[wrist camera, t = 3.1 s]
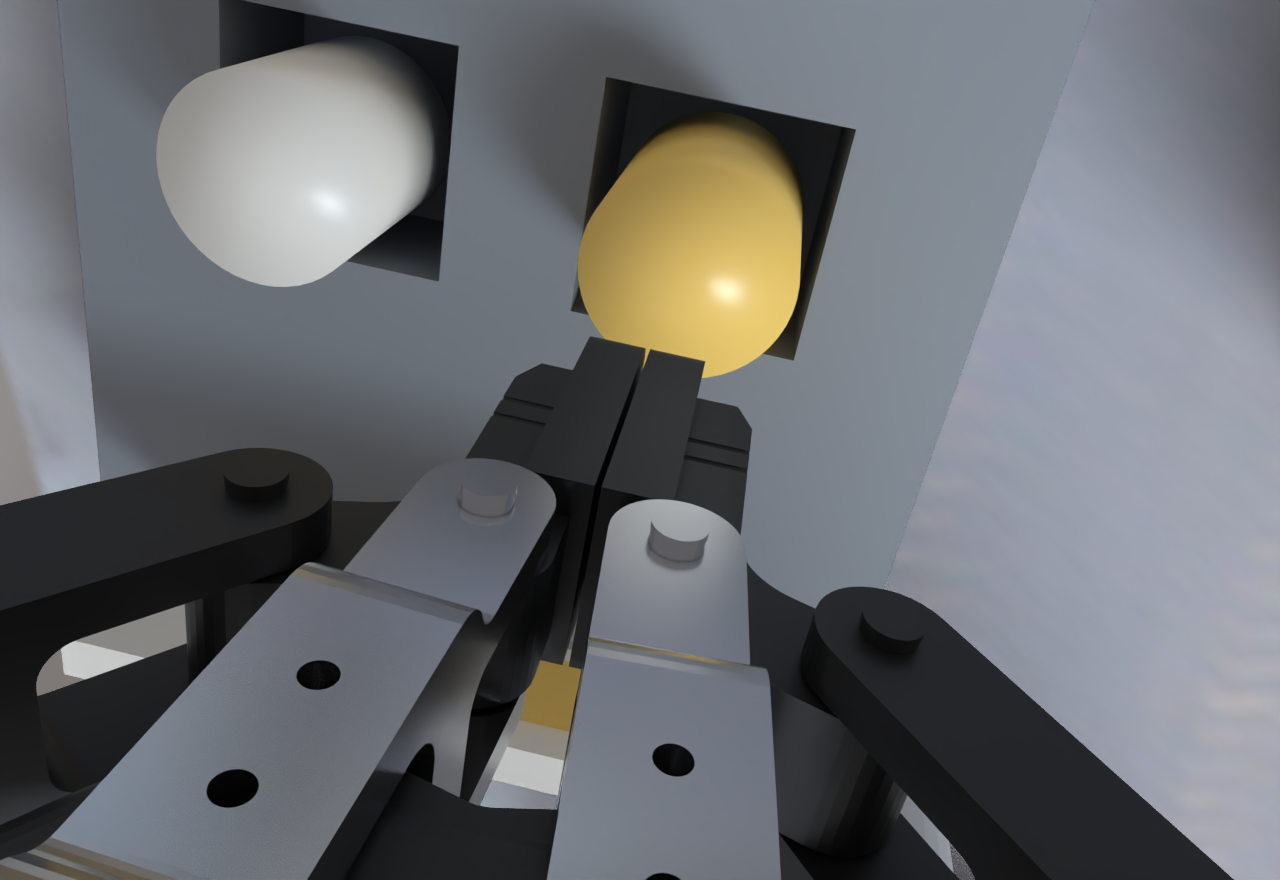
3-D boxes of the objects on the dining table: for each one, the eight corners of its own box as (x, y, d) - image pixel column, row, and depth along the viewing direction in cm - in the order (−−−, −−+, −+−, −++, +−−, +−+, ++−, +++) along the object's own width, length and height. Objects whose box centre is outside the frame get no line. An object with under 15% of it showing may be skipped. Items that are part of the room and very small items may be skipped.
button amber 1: (824, 132, 22) (825, 190, 17) (778, 307, 24) (770, 399, 19) (639, 93, 22) (595, 140, 18) (609, 270, 24) (563, 352, 20)
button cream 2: (458, 56, 22) (370, 93, 18) (443, 234, 24) (360, 307, 20) (280, 18, 22) (151, 46, 18) (279, 198, 24) (161, 262, 20)
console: (1192, -457, 19) (1555, -804, 10) (842, 587, 30) (855, 887, 21) (151, -643, 20) (-425, -1119, 11) (193, 436, 31) (-67, 658, 22)
